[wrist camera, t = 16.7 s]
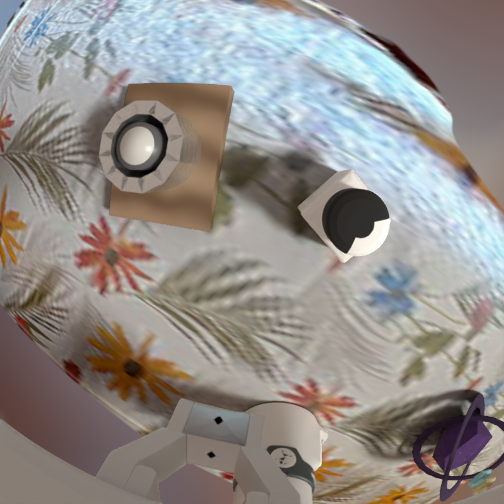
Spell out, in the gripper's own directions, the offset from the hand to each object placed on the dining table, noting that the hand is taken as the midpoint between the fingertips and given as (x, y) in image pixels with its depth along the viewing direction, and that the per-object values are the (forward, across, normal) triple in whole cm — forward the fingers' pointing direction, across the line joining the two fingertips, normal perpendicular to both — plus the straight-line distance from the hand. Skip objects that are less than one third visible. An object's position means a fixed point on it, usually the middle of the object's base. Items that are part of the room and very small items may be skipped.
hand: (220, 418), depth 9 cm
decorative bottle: (+29, -48, +32) cm, 65 cm away
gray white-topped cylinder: (+26, +14, -10) cm, 31 cm away
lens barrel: (+27, +14, -10) cm, 32 cm away
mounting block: (+29, +14, -10) cm, 34 cm away
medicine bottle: (+29, -8, -6) cm, 31 cm away
